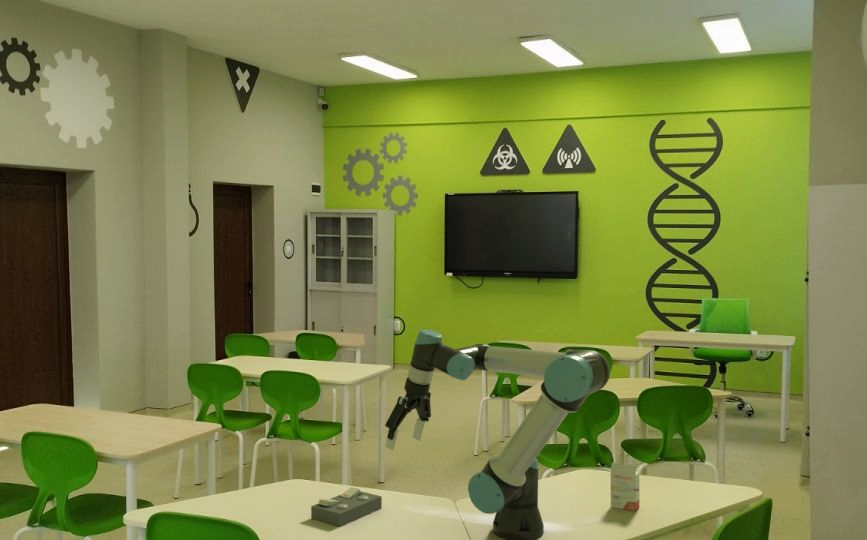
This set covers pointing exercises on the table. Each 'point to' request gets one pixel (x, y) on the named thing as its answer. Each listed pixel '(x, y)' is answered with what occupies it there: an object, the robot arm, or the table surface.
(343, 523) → the switch panel
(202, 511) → the table surface
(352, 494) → the rocker
